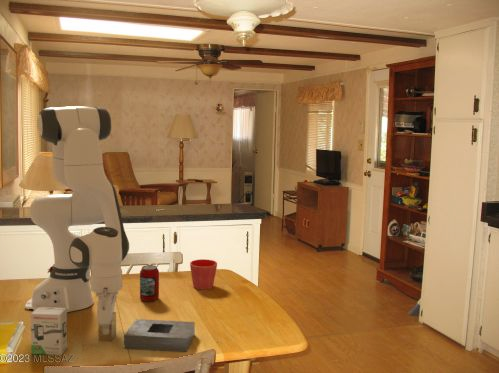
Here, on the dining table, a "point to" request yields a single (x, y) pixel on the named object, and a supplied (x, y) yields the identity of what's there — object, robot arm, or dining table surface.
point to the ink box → (48, 330)
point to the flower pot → (203, 273)
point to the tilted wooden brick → (112, 332)
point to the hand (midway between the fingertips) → (107, 328)
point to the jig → (159, 335)
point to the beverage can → (149, 283)
